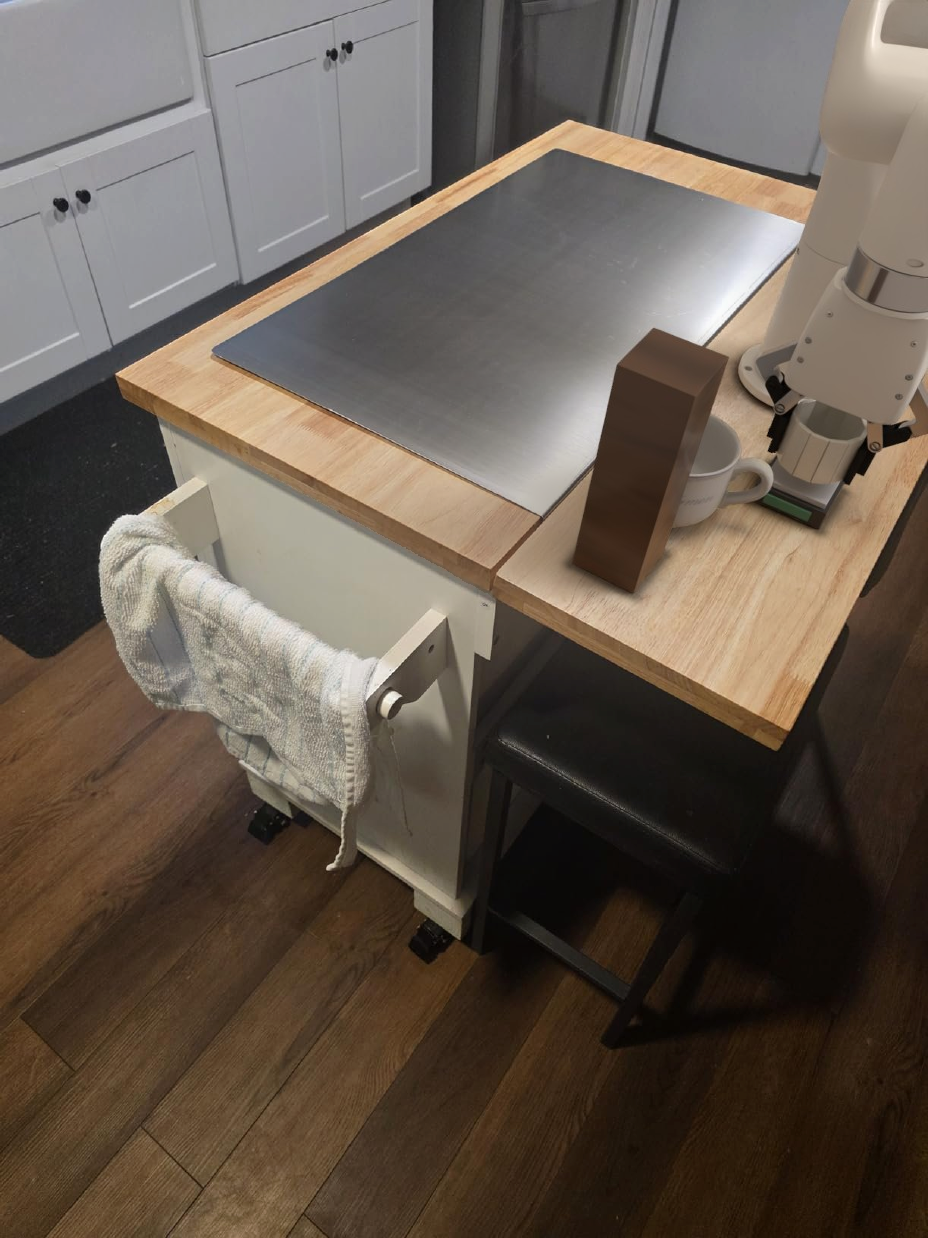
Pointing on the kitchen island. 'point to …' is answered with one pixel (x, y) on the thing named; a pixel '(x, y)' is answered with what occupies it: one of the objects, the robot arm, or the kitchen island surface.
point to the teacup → (719, 475)
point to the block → (646, 455)
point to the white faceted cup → (820, 442)
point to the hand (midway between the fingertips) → (813, 459)
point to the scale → (799, 496)
